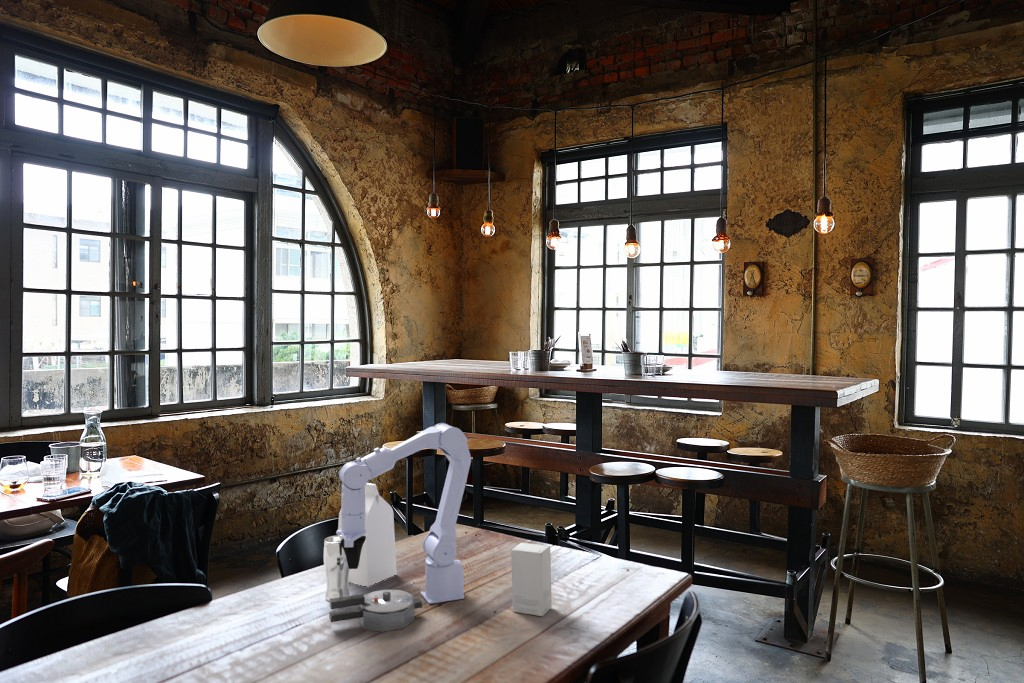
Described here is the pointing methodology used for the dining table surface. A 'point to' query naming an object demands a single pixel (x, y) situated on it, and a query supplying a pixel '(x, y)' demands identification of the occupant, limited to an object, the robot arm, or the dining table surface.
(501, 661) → the dining table surface
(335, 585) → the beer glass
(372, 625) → the pot
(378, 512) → the milk
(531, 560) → the skincare box
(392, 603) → the lid
